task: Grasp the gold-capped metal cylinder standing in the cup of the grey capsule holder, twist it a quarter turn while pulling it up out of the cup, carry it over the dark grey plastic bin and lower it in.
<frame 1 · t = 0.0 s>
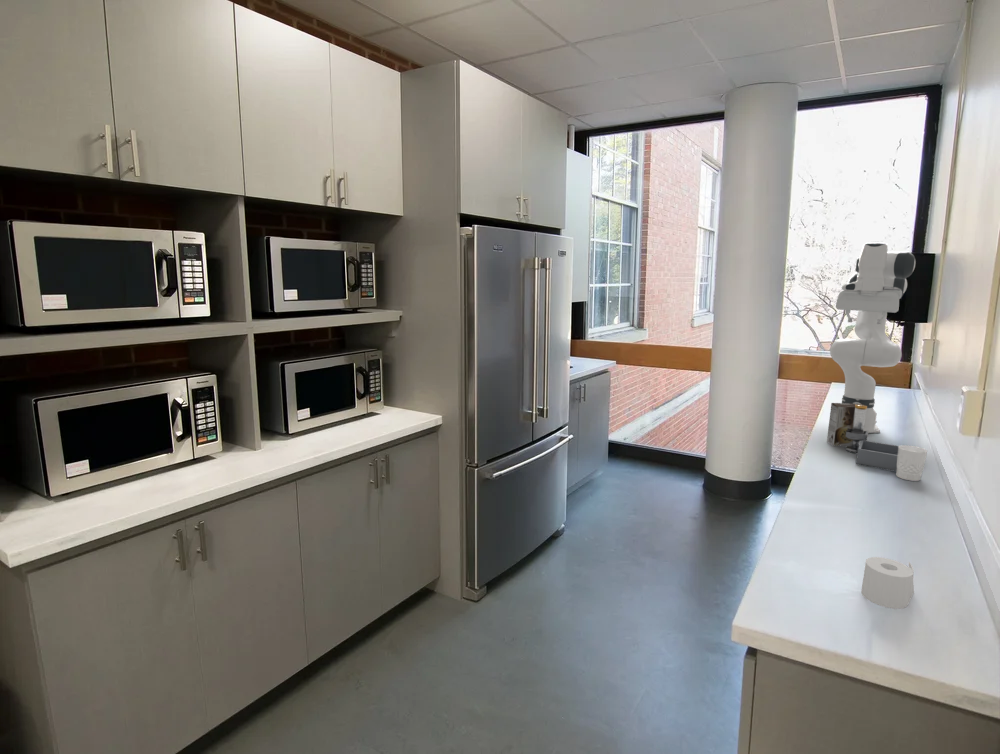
hand: (864, 323, 221), 48 cm above the counter, fingers open, 8 cm apart
toilet paper: (893, 598, 121), on the counter
coffee box: (841, 444, 230), on the counter
bin: (881, 463, 208), on the counter
grey capsule holder: (854, 451, 222), on the counter
gold-capped metal cylinder: (856, 436, 221), point 6 cm above the counter, touching grey capsule holder
white cup: (908, 478, 194), on the counter
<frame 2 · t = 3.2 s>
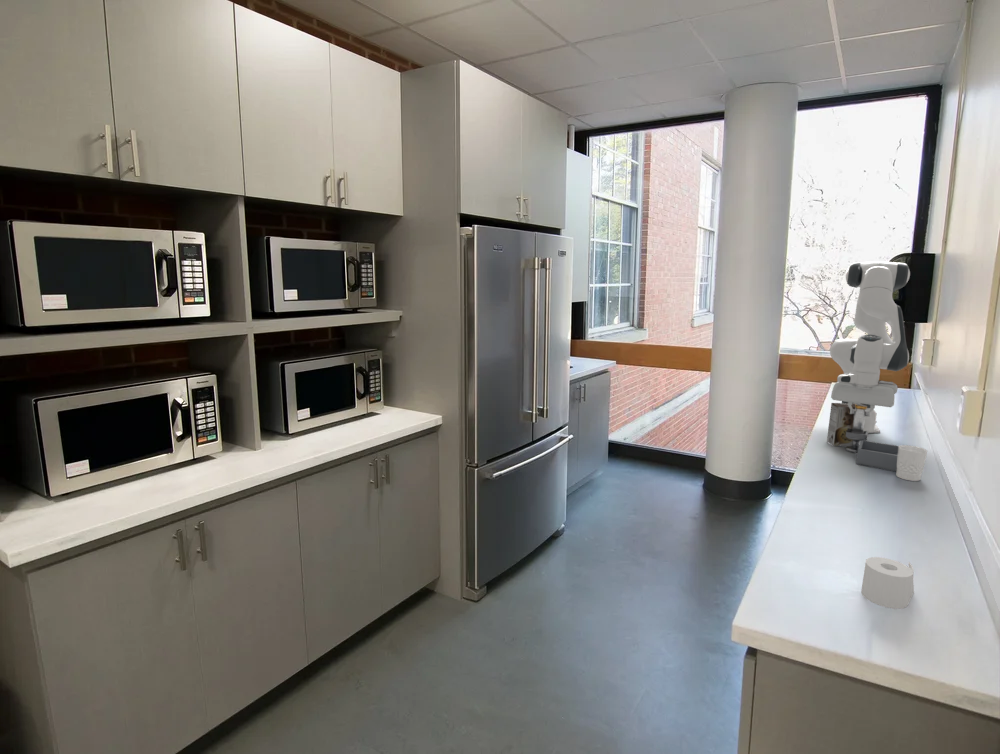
hand: (859, 415, 219), 14 cm above the counter, fingers closed on gold-capped metal cylinder, 4 cm apart
gold-capped metal cylinder: (856, 436, 221), point 6 cm above the counter, touching gripper, grey capsule holder
everything else where it was.
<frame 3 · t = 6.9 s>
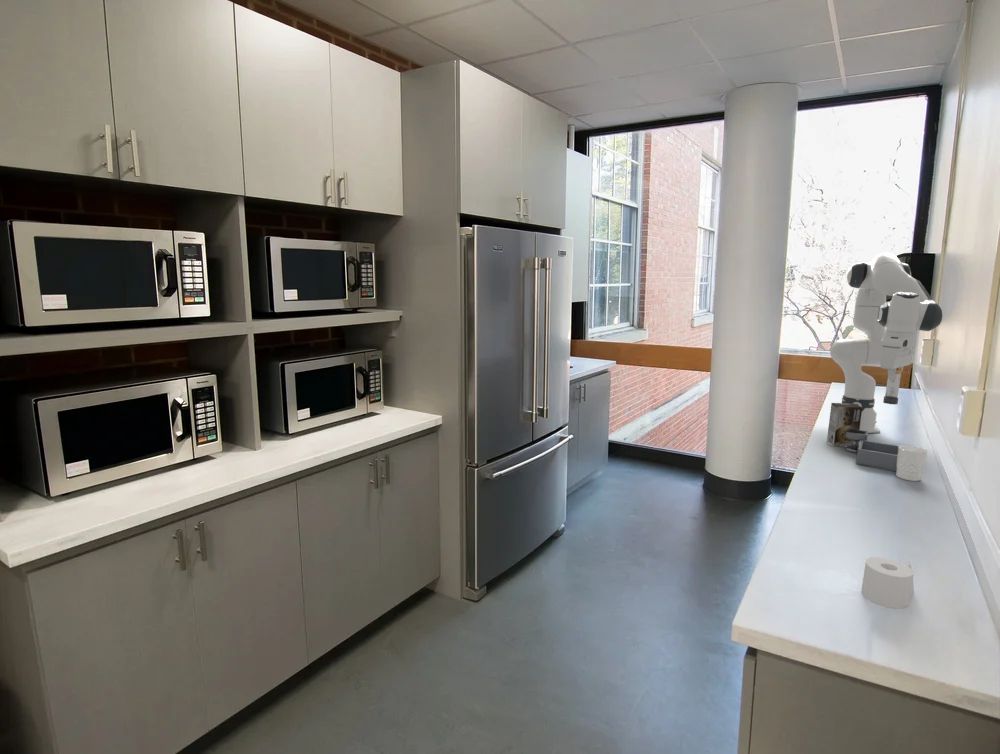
hand: (893, 379, 202), 30 cm above the counter, fingers closed on gold-capped metal cylinder, 4 cm apart
gold-capped metal cylinder: (890, 403, 204), point 22 cm above the counter, touching gripper
everything else where it was.
when the fingers open (11 cm above the counter, at t = 10.7 s): gold-capped metal cylinder drops 2 cm, resting on bin.
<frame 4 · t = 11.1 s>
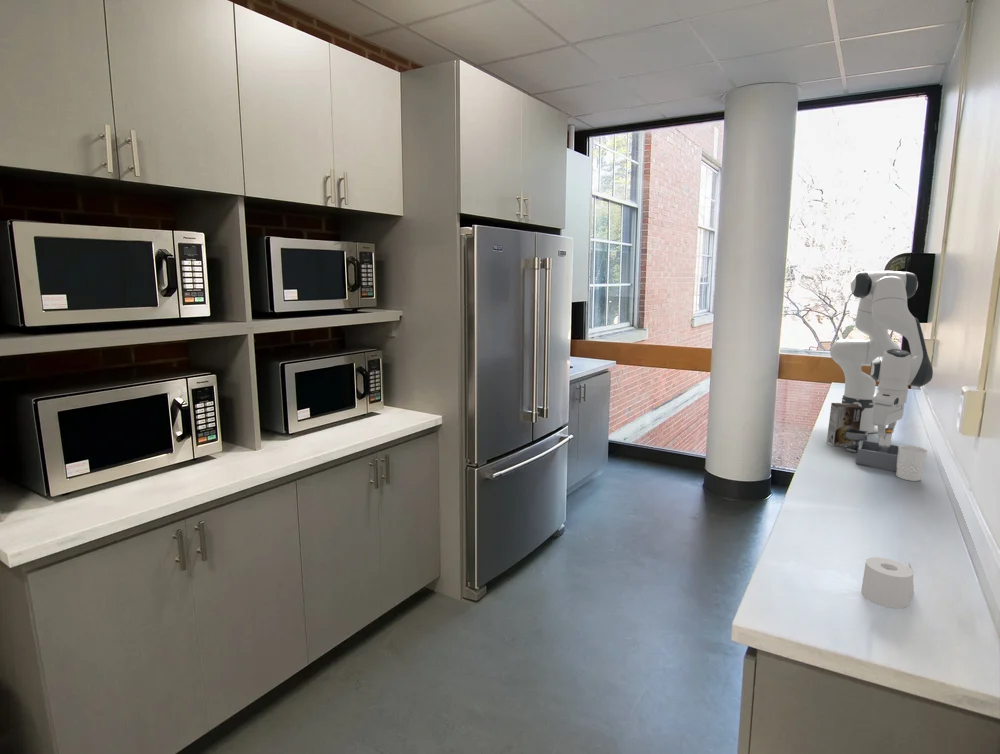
hand: (885, 434, 206), 11 cm above the counter, fingers open, 7 cm apart
gold-capped metal cylinder: (881, 461, 208), point 1 cm above the counter, touching bin
everything else where it was.
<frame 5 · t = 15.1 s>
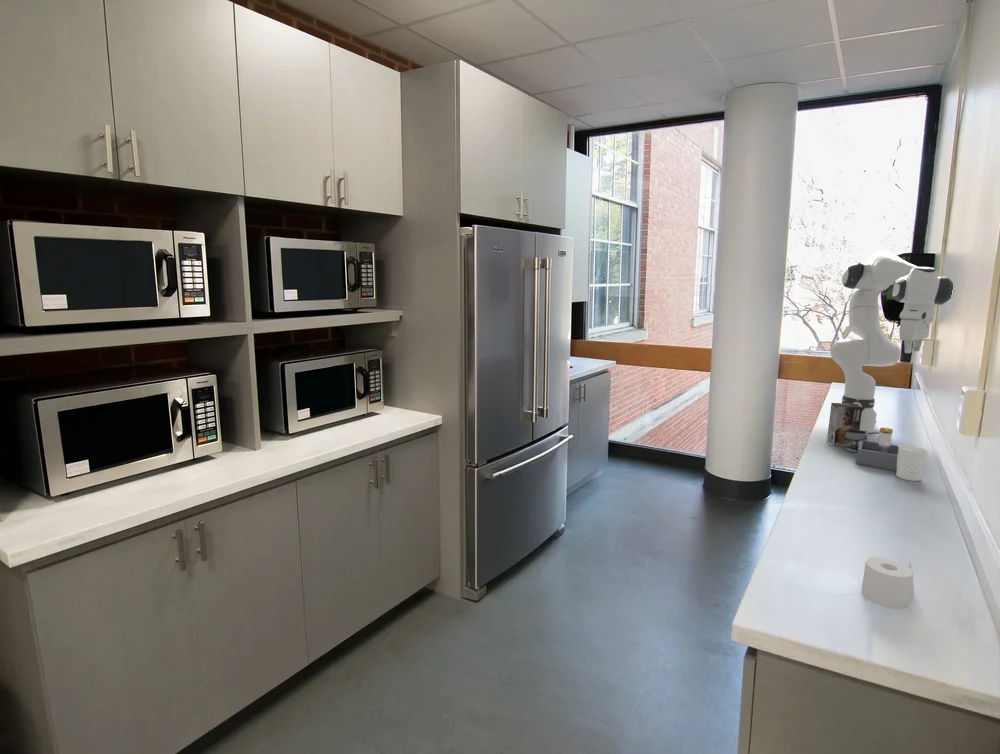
hand: (912, 352, 209), 39 cm above the counter, fingers open, 8 cm apart
nothing on the counter moved.
at the end: gold-capped metal cylinder inside the target area on the bin (0.1 cm from its centre), point 0.6 cm above the bin's base; gold-capped metal cylinder touching bin; the gripper is holding nothing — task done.
